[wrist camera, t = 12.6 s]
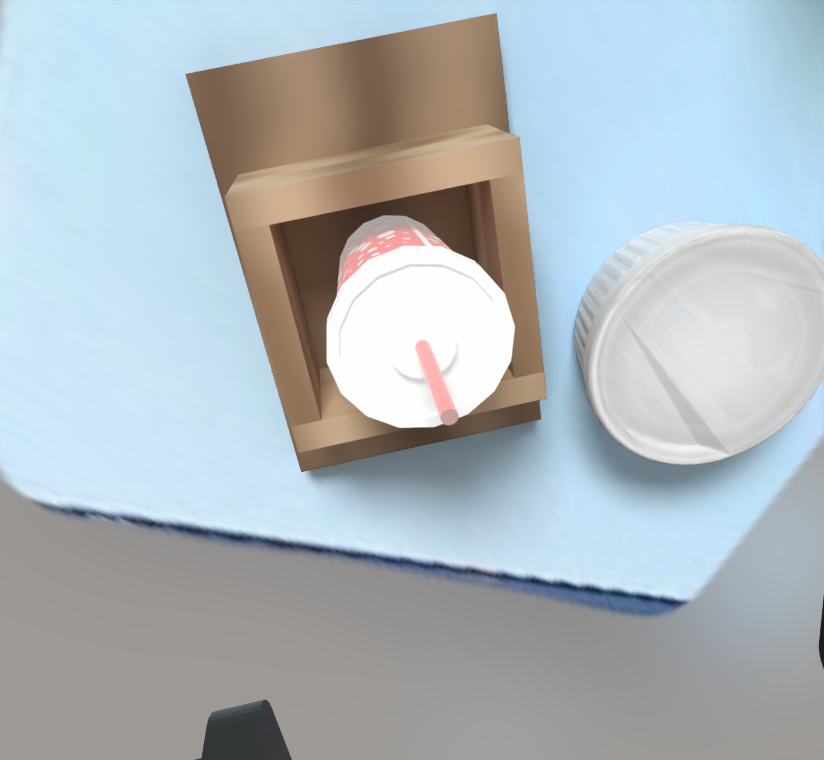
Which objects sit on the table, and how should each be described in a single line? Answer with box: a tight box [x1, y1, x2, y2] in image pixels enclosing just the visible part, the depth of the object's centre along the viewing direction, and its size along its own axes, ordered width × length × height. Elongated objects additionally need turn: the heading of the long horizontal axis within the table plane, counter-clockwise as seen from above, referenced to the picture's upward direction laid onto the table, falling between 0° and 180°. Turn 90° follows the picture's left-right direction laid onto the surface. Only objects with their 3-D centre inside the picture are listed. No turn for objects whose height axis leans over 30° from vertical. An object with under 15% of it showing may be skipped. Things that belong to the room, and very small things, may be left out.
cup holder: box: [186, 13, 547, 472], centre depth 29 cm, size 12×18×6 cm, turn 10°
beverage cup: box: [327, 215, 515, 428], centre depth 24 cm, size 6×6×14 cm
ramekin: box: [574, 221, 824, 465], centre depth 33 cm, size 11×11×5 cm
